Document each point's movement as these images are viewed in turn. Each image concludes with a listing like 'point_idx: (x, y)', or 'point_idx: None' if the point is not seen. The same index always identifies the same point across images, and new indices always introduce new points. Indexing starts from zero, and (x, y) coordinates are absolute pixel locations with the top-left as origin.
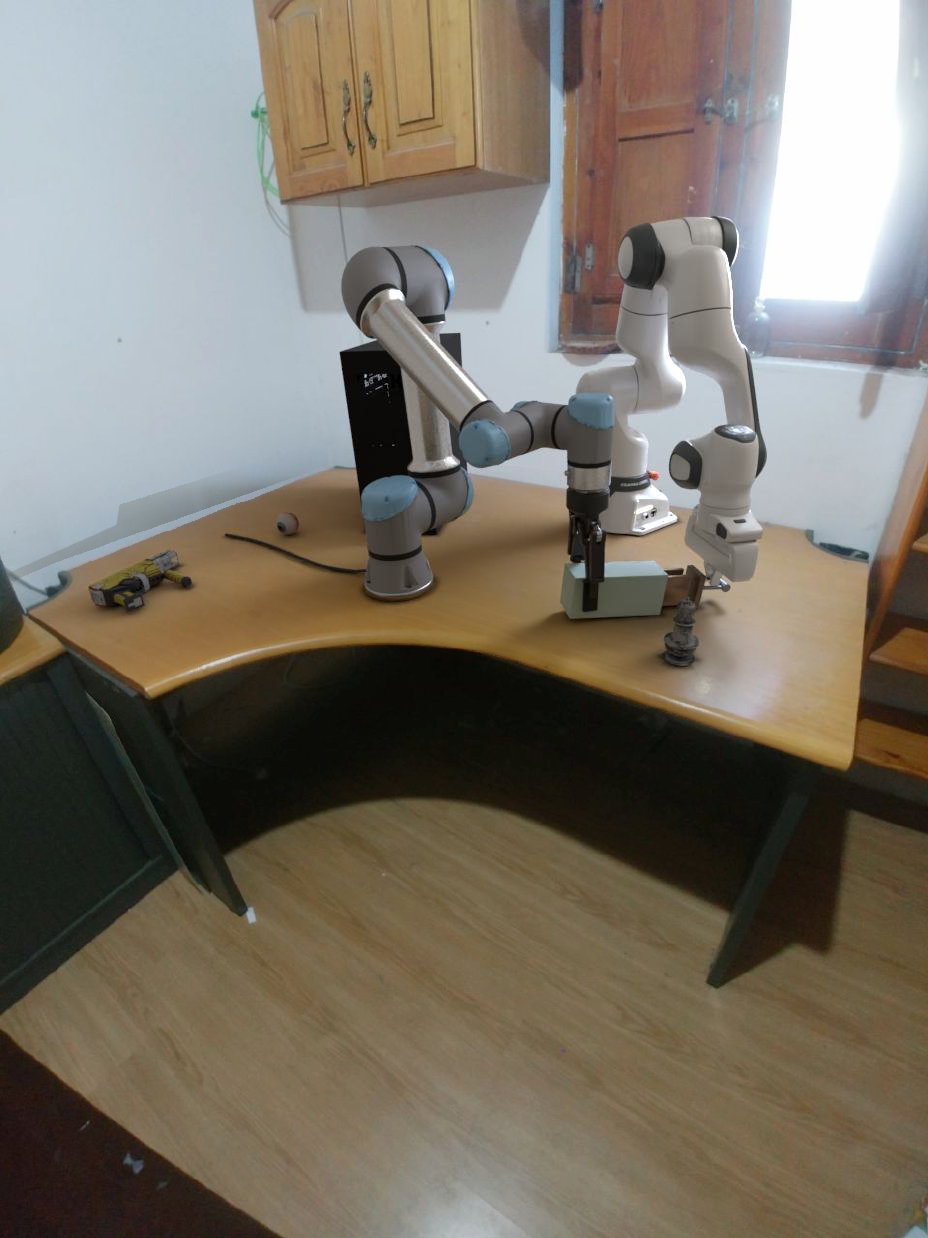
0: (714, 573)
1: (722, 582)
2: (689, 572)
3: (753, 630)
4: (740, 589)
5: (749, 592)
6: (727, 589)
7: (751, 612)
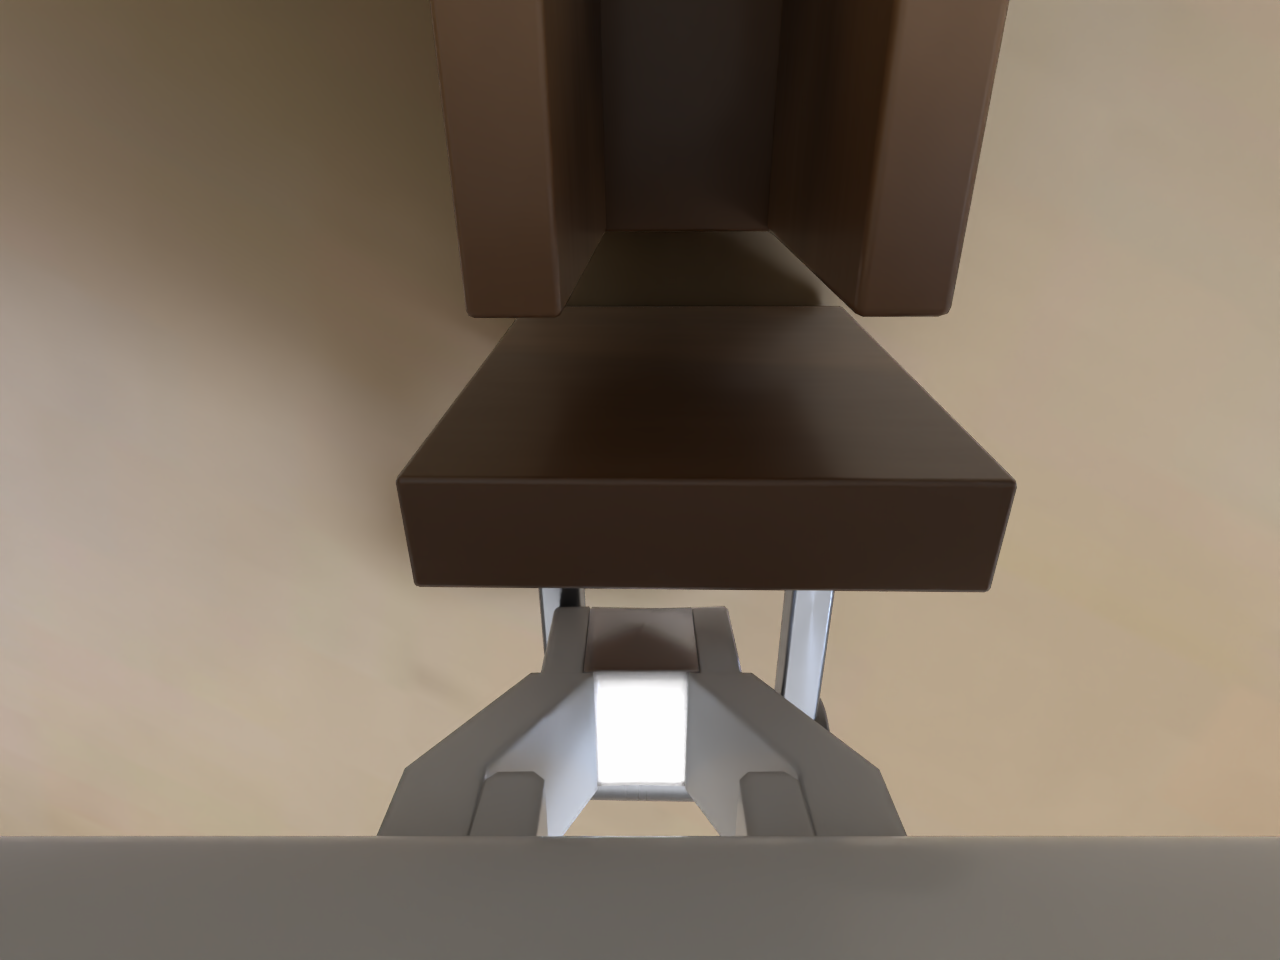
0: (433, 752)
1: None
2: (835, 434)
3: (96, 625)
4: None
5: None
6: None
7: (394, 746)
